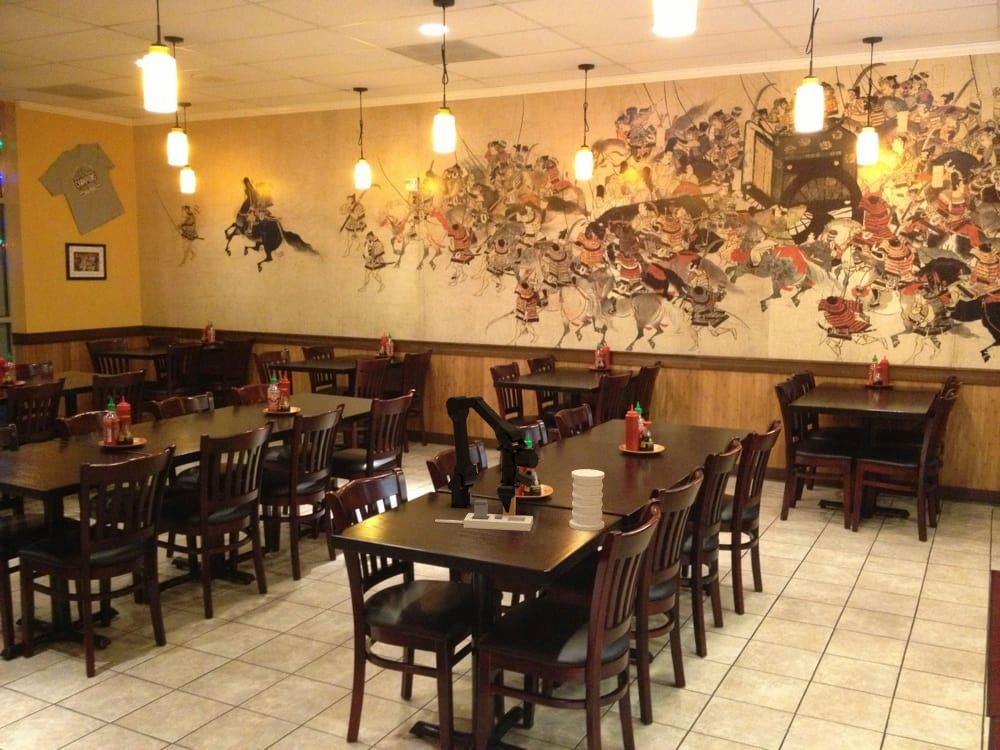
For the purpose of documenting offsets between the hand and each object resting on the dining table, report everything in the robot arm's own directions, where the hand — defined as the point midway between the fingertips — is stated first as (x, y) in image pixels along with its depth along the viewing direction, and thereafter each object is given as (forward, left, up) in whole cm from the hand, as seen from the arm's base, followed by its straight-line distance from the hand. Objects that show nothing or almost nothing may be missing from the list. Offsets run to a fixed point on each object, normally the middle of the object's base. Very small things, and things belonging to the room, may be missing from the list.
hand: (509, 509), depth 304 cm
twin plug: (-8, -12, -3) cm, 15 cm away
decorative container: (+27, -7, -3) cm, 28 cm away
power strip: (-7, -12, -3) cm, 14 cm away
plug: (0, 0, -3) cm, 3 cm away
